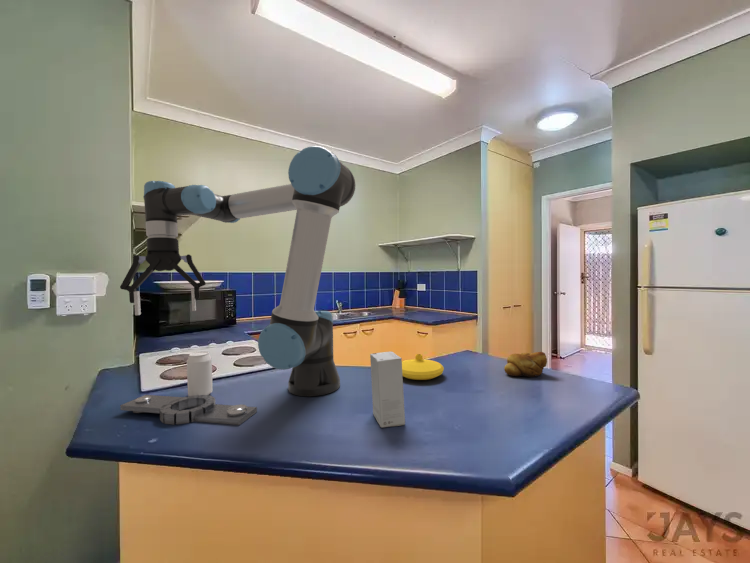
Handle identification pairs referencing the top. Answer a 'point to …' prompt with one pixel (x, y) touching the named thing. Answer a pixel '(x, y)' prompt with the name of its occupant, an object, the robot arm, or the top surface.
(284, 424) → the top surface
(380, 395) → the skincare box
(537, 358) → the bread roll
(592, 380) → the top surface
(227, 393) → the top surface
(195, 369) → the beverage can
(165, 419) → the grey pipe clamp bracket
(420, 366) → the yellow lidded dish
